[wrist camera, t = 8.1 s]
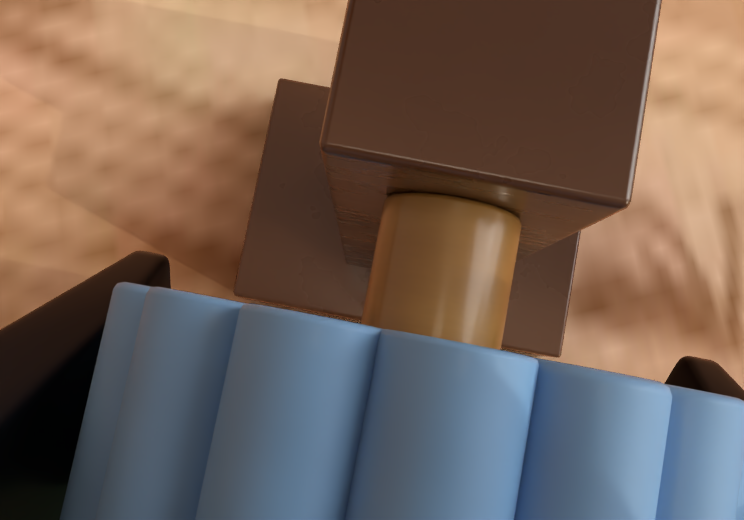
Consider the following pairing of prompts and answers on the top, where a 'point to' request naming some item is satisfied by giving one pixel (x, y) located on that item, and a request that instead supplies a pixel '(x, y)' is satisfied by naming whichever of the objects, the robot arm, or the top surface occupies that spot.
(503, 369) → the blue fluted ring
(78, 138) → the top surface
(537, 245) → the peg stand
